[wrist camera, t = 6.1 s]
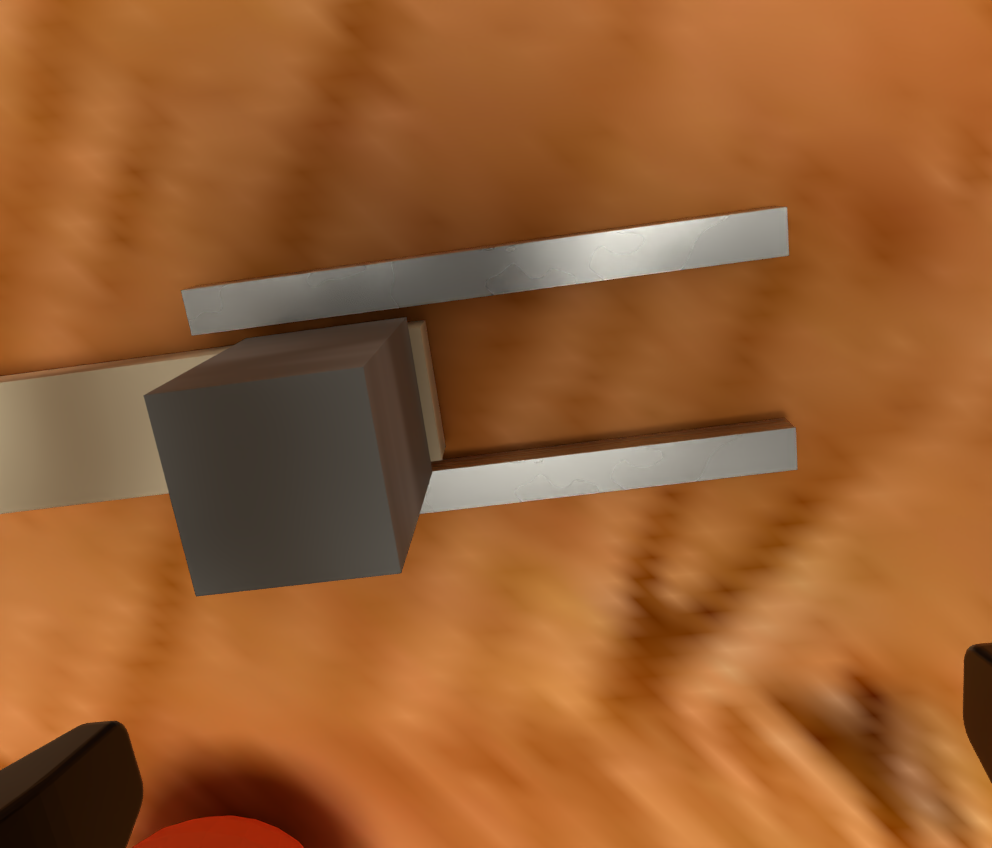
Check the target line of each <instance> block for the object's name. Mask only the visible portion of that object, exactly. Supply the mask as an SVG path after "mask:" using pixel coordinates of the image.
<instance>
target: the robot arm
mask: <svg viewBox="0 0 992 848" xmlns="http://www.w3.org/2000/svg"><path fill="white" fill-rule="evenodd" d="M963 720H964V725H965V729H966V733H967V735H968V738H969V740H970V743H971V744H972V746H973V748H974V750H975V752H976V754H977V756H978V758H979V760H980V762H981V764H982V766H983V768H984V770H985V772H986V773H987V775H988V777H989V779H990V781H991V783H992V643H983V644H975V645H972V646H970V647H969V648H968V649H967V651H966V654H965V657H964V687H963ZM142 799H143V783H142V778H141V775H140V771H139V768H138V765H137V761H136V758H135V755H134V751H133V748H132V744H131V741H130V738H129V734H128V732H127V729H126V728H125V726H124V725H123V724H122V723H120V722H118V721H105V722H94V723H86V724H82V725H80V726H78V727H76V728H74V729H72V730H71V731H69V732H67V733H65V734H64V735H62V736H60V737H58V738H56V739H55V740H53V741H51V742H49V743H48V744H46V745H44V746H42V747H41V748H39V749H37V750H35V751H34V752H32V753H30V754H28V755H27V756H25V757H23V758H21V759H20V760H18V761H16V762H14V763H12V764H11V765H9V766H7V767H5V768H4V769H2V770H0V848H126V847H127V844H128V841H129V838H130V836H131V833H132V830H133V827H134V825H135V822H136V819H137V816H138V814H139V811H140V808H141V804H142Z"/></svg>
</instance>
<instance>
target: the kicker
mask: <svg viewBox="0 0 992 848" xmlns="http://www.w3.org/2000/svg"><path fill="white" fill-rule="evenodd" d="M445 447H446V445H445V439H444V433H443V426H442V420H441V414H440V408H439V402H438V395H437V389H436V383H435V377H434V371H433V364H432V358H431V352H430V346H429V340H428V333H427V327H426V321H425V320H419V321H412V322H407V317H403V318H395V319H388V320H380V321H373V322H365V323H358V324H350V325H343V326H335V327H328V328H320V329H313V330H305V331H298V332H290V333H283V334H275V335H268V336H260V337H253V338H246V339H244V340H242V341H240V342H239V343H237V344H235V345H232V346H224V347H216V348H209V349H201V350H194V351H186V352H179V353H171V354H164V355H156V356H149V357H141V358H134V359H126V360H119V361H111V362H104V363H96V364H89V365H81V366H74V367H66V368H59V369H51V370H44V371H36V372H29V373H21V374H14V375H6V376H0V514H3V513H12V512H20V511H28V510H36V509H45V508H53V507H61V506H69V505H77V504H86V503H94V502H102V501H110V500H119V499H127V498H135V497H143V496H151V495H160V494H168V493H169V495H170V499H171V503H172V507H173V511H174V514H175V518H176V522H177V526H178V530H179V533H180V537H181V541H182V545H183V549H184V553H185V556H186V560H187V564H188V568H189V572H190V575H191V579H192V583H193V587H194V591H195V595H196V596H204V595H213V594H222V593H231V592H239V591H248V590H257V589H266V588H275V587H284V586H293V585H301V584H310V583H319V582H328V581H337V580H346V579H355V578H363V577H372V576H381V575H390V574H399V573H401V572H402V569H403V566H404V563H405V559H406V556H407V553H408V550H409V547H410V543H411V540H412V537H413V534H414V530H415V527H416V524H417V521H418V517H419V514H420V511H421V508H422V504H423V501H424V498H425V495H426V491H427V488H428V485H429V482H430V478H431V475H432V466H431V461H439V460H442V458H443V454H444V451H445Z"/></svg>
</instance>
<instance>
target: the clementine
mask: <svg viewBox="0 0 992 848" xmlns="http://www.w3.org/2000/svg"><path fill="white" fill-rule="evenodd" d="M132 848H304V847H303V846H302V845H301V844H300V842H299V841H297V840H296V839H294V838H293V837H291V836H290V835H288V834H287V833H285V832H284V831H282V830H281V829H279V828H277V827H275V826H272V825H269V824H267V823H264V822H262V821H259V820H257V819H251V818H245V817H239V816H233V815H228V816H212V817H203V818H198V819H192V820H188V821H185V822H182V823H178V824H175V825H172V826H168V827H165V828H162V829H160V830H159V831H157V832H156V833H154V834H152V835H151V836H149V837H148V838H146V839H144V840H143V841H141V842H140V843H138V844H137V845H135V846H134V847H132Z"/></svg>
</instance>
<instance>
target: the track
mask: <svg viewBox="0 0 992 848" xmlns="http://www.w3.org/2000/svg"><path fill="white" fill-rule="evenodd" d="M782 256H789V244H788V219H787V207H783V206H771V207H764V208H757V209H750V210H742V211H735V212H728V213H721V214H714V215H706V216H699V217H692V218H685V219H677V220H670V221H663V222H656V223H648V224H641V225H634V226H627V227H619V228H612V229H605V230H598V231H591V232H583V233H576V234H569V235H562V236H554V237H547V238H540V239H533V240H525V241H518V242H511V243H504V244H497V245H489V246H482V247H475V248H468V249H460V250H453V251H446V252H439V253H431V254H424V255H417V256H410V257H403V258H395V259H388V260H381V261H374V262H366V263H359V264H352V265H345V266H337V267H330V268H323V269H316V270H309V271H301V272H294V273H287V274H280V275H272V276H265V277H258V278H251V279H243V280H236V281H229V282H222V283H215V284H207V285H200V286H194V287H191V288H188V289H184V290H181V293H182V297H183V301H184V305H185V310H186V314H187V318H188V322H189V326H190V330H191V335H192V336H193V335H201V334H208V333H216V332H223V331H231V330H238V329H245V328H253V327H260V326H268V325H275V324H283V323H290V322H298V321H305V320H312V319H320V318H327V317H335V316H342V315H350V314H357V313H365V312H372V311H380V310H387V309H394V308H402V307H409V306H417V305H424V304H432V303H439V302H447V301H454V300H461V299H469V298H476V297H484V296H491V295H499V294H506V293H514V292H521V291H528V290H536V289H543V288H551V287H558V286H566V285H573V284H581V283H588V282H595V281H603V280H610V279H618V278H625V277H633V276H640V275H648V274H655V273H663V272H670V271H677V270H685V269H692V268H700V267H707V266H715V265H722V264H730V263H737V262H744V261H752V260H759V259H767V258H774V257H782ZM431 466H432V475H431V478H430V482H429V485H428V488H427V491H426V495H425V498H424V501H423V504H422V508H421V511H420V514H423V513H432V512H440V511H449V510H457V509H466V508H474V507H483V506H491V505H500V504H508V503H517V502H525V501H534V500H542V499H551V498H560V497H568V496H577V495H585V494H594V493H602V492H611V491H619V490H628V489H636V488H645V487H653V486H662V485H670V484H679V483H687V482H696V481H704V480H713V479H721V478H730V477H738V476H747V475H755V474H764V473H772V472H781V471H789V470H797V447H796V427H795V426H793V425H792V424H791V423H790V422H789V421H788V420H787V419H786V418H779V419H770V420H762V421H754V422H746V423H738V424H729V425H721V426H713V427H705V428H696V429H688V430H680V431H672V432H664V433H655V434H647V435H639V436H631V437H622V438H614V439H606V440H598V441H590V442H581V443H573V444H565V445H557V446H548V447H540V448H532V449H524V450H516V451H507V452H499V453H491V454H483V455H474V456H466V457H458V458H450V459H442V460H439V461H431Z"/></svg>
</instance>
